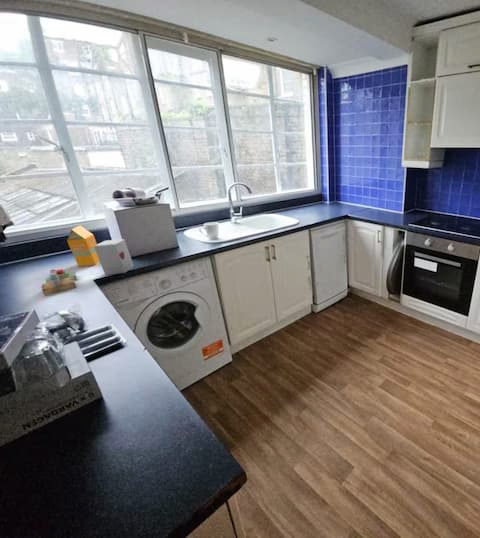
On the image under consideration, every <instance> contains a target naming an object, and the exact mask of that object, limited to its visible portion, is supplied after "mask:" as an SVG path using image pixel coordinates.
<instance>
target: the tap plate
mask: <svg viewBox="0 0 480 538" xmlns="http://www.w3.org/2000/svg"><path fill="white" fill-rule="evenodd" d="M74 279H75V278H74ZM74 279H73V277H69V278H65V279H61V280H60V285H56V286H55V284H54V282H53V281H52V282H48V283H46V282H44V283H41V285H40V288H41V291H42V293H43V295H44V296H50V295H53V294H58V293H61V292H66V291H69V290H73V289H77V284H76V280H75V281H74Z"/></svg>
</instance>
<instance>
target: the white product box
mask: <svg viewBox="0 0 480 538" xmlns="http://www.w3.org/2000/svg"><path fill="white" fill-rule="evenodd" d="M94 248H95V251H96V253H97V256H98V258H99V261H100V262H99V263H100V266H101V269H102V270H103V273H104V276H105V275H106V276H107V275H118V274H120V275H121V274H125V273H127V272H128V271H130V270H132V269H133V268H134V267H135V266H134V262H133V259H132V257H131V254H130V251H129V249H128V246H127V243H126V240H125V239H124V238H123V239H121V238H120V239H109V240H108V239H107V240H103V241H102V242H99V243H97V245H95V246H94Z"/></svg>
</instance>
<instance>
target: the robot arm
mask: <svg viewBox="0 0 480 538" xmlns="http://www.w3.org/2000/svg"><path fill="white" fill-rule="evenodd" d="M14 225H15V222H14V221H13V220H12V219H11V216H10V214H9V213H8V210H7V209H6V207H5V206H4V204H3V203H2V201H0V244H2V243H6V240H8V237H7V235H6V234H5V232H4V231H5V230H6V229H7V228H10V227H12V226H14Z"/></svg>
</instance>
